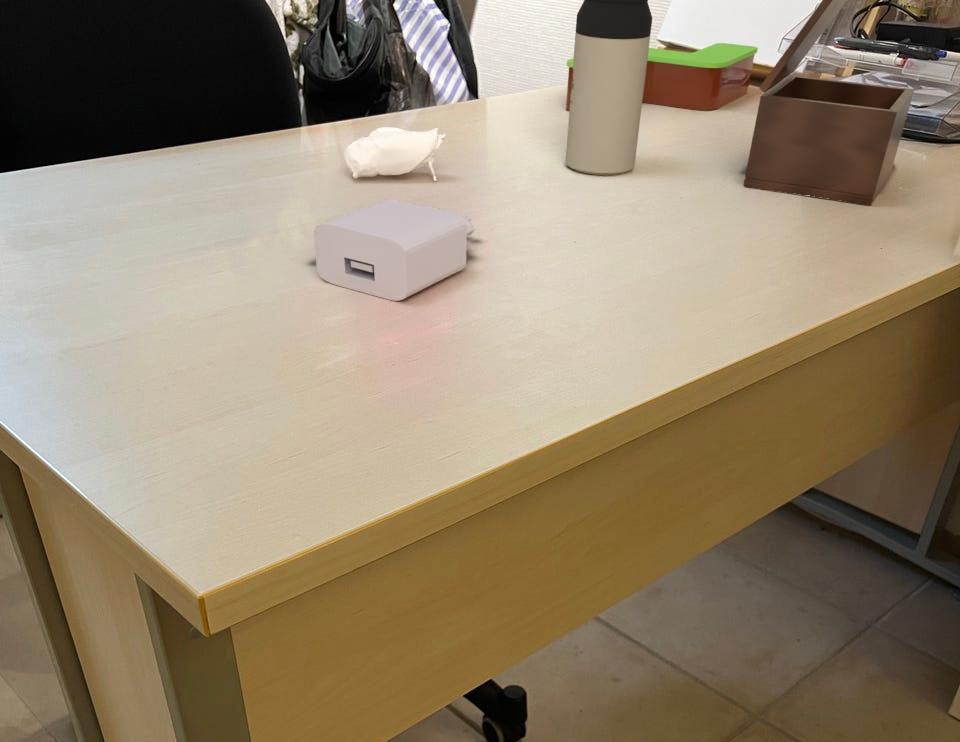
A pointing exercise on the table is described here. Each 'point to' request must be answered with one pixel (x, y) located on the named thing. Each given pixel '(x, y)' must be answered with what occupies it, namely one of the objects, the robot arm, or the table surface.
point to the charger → (392, 248)
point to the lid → (803, 42)
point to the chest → (827, 138)
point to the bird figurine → (392, 152)
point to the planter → (694, 76)
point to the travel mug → (607, 85)
